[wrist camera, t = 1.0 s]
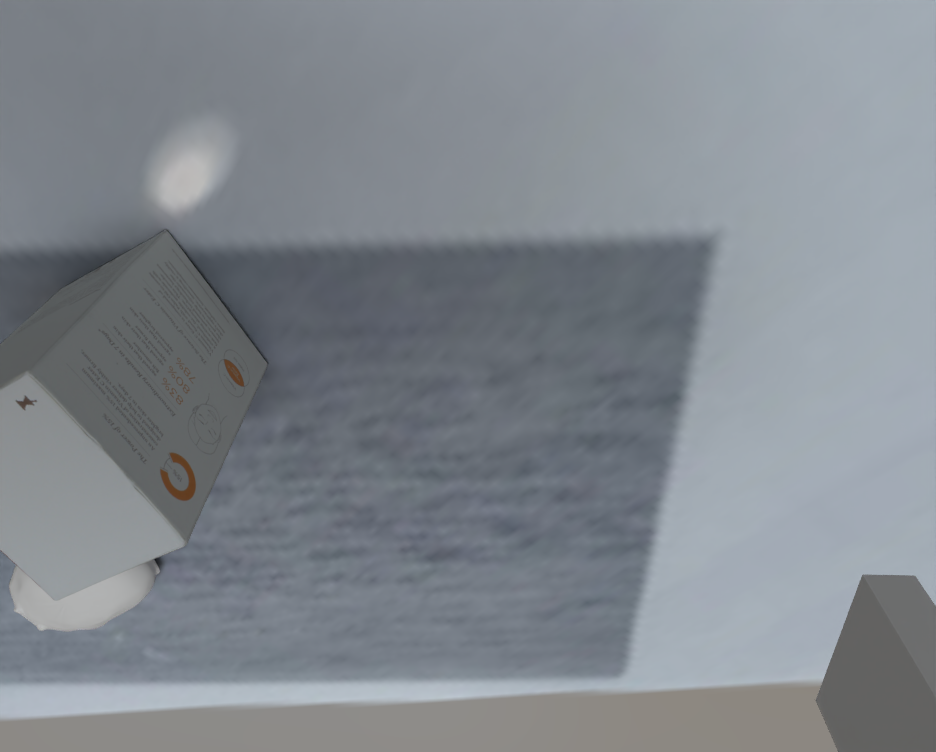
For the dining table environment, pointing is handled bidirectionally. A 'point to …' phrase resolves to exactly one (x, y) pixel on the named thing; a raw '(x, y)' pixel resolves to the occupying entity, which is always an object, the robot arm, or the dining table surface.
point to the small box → (117, 417)
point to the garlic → (82, 599)
